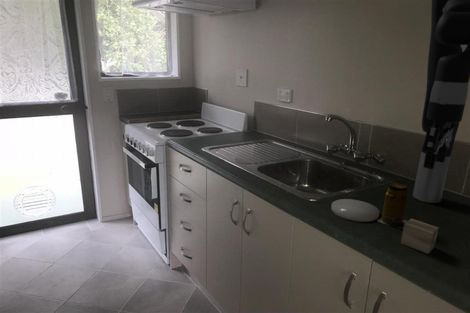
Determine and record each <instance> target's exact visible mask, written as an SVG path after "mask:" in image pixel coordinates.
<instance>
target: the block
mask: <svg viewBox="0 0 470 313" xmlns="http://www.w3.org/2000/svg"><path fill="white" fill-rule="evenodd" d="M406 221H407V222H406V223H405V224H404V223H403V224H404V229H402V235H401V238H400V239H401V240H400V245H401V244H402V245H404V246H407V247H409V248H412V249H414V250H416V251H417V250H418V251H419V252H422V253H425V254H430V253H431V252H432V250H434V248H435V246H436V241H437V237H438V233H439V227H437V226H435V225H431V224H429V223H426V222H423V221H421V220H418V219H417V220H416V219H414V218H410V219H409V220H406Z"/></svg>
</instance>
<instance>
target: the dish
mask: <svg viewBox="0 0 470 313" xmlns="http://www.w3.org/2000/svg"><path fill="white" fill-rule="evenodd" d="M330 209H331V211H332V212H333V214H335V215H336V216H338V217H340V218H343V219H345V220H349V221H353V222H361V223H363V222H364V223H368V222H374V221H377V220H378V219H379V216H380V210H379V209H378V208H377V207H376V206H375V205H374V204H372V203H369V202H366V201H362V200H357V199H354V198H353V199H351V198H342V199H337V200H334V201H332V203H331V207H330Z"/></svg>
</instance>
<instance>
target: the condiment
mask: <svg viewBox="0 0 470 313" xmlns="http://www.w3.org/2000/svg"><path fill="white" fill-rule="evenodd" d="M407 191H408V187H407V186H406V185H405V184H402V183H397V182H392V183H389V184H388V188H387V191H386V193H385V197H384V201H383V202H384V203H383V208H382V213H381V217H380V218H378V219H376V222H379V223H381V224H384V225H386V226H391V227H394V228H397V229H400V230H403V229H404V224H405V223H406V222H407V221H408V220H405V219H404V218H405V217H404V216H405V212H406V207H407V206H406V205H407V199H408V195H407V194H408V192H407Z"/></svg>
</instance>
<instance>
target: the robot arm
mask: <svg viewBox="0 0 470 313" xmlns="http://www.w3.org/2000/svg"><path fill="white" fill-rule="evenodd" d="M430 23H431V25H430V27H431V28H430V39H429V46H428V47H429V49H428V58H427V76H426V91H425V92H426V93H425V98H424V104H423V105H424V106H423V111H422V116H421V117H422V119H421V128H422V131H423V132H424V133H426V134H425V138H424V143H423V144H422V147H421V152H420V156H419V161H418V167H417V172H416V177H415V182H414V188H413V192H412V197H413V198H414V199H416V200H418V201H420V202H425V203H428V204H430V203H432V204H439V203H441V201H442V198H443V193H444V189H445V184H446V180H447V175H448V170H449V165H450V160H451V156H452V152H453V149H454V146H455V145H454V144H455V140H456V136H457V133H458V129H459V125H460V122H462V120H463V116H464V110H465V107H466V102H467V98H468V91H469V82H470V0H431V22H430ZM462 46H466V47H465V49H464V50H463V48H462Z"/></svg>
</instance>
